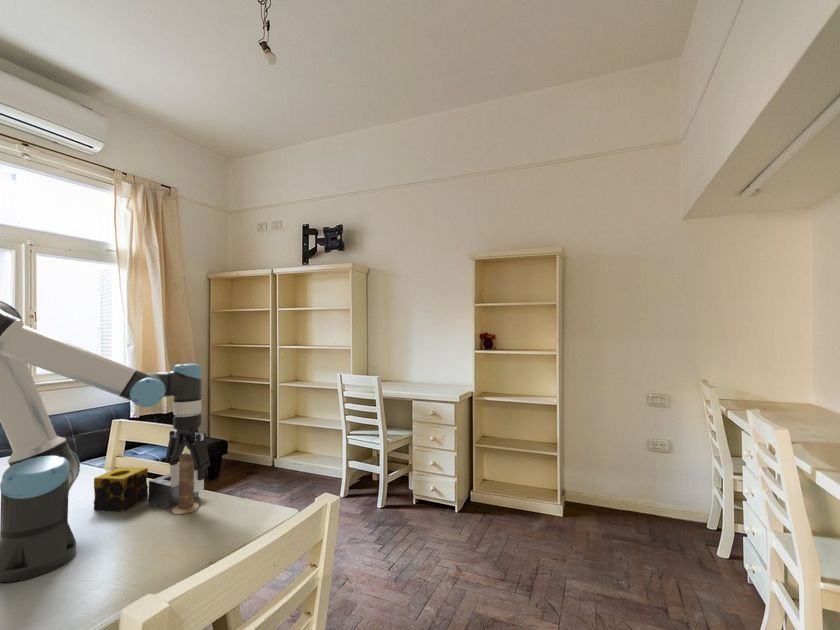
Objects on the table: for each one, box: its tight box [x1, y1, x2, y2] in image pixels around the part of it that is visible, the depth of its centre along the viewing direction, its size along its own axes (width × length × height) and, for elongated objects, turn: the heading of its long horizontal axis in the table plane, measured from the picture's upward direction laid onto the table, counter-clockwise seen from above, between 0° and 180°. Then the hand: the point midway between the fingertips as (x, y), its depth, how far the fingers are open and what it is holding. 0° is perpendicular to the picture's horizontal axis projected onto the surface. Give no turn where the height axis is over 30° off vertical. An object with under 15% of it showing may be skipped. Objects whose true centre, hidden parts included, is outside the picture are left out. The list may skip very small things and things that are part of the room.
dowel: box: [178, 452, 195, 510], centre depth 125 cm, size 3×3×16 cm
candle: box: [93, 466, 149, 512], centre depth 128 cm, size 10×10×10 cm
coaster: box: [171, 502, 199, 516], centre depth 124 cm, size 7×7×1 cm
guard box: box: [148, 473, 200, 510], centre depth 131 cm, size 10×10×7 cm
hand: (187, 487), depth 124 cm, fingers open, 10 cm apart
